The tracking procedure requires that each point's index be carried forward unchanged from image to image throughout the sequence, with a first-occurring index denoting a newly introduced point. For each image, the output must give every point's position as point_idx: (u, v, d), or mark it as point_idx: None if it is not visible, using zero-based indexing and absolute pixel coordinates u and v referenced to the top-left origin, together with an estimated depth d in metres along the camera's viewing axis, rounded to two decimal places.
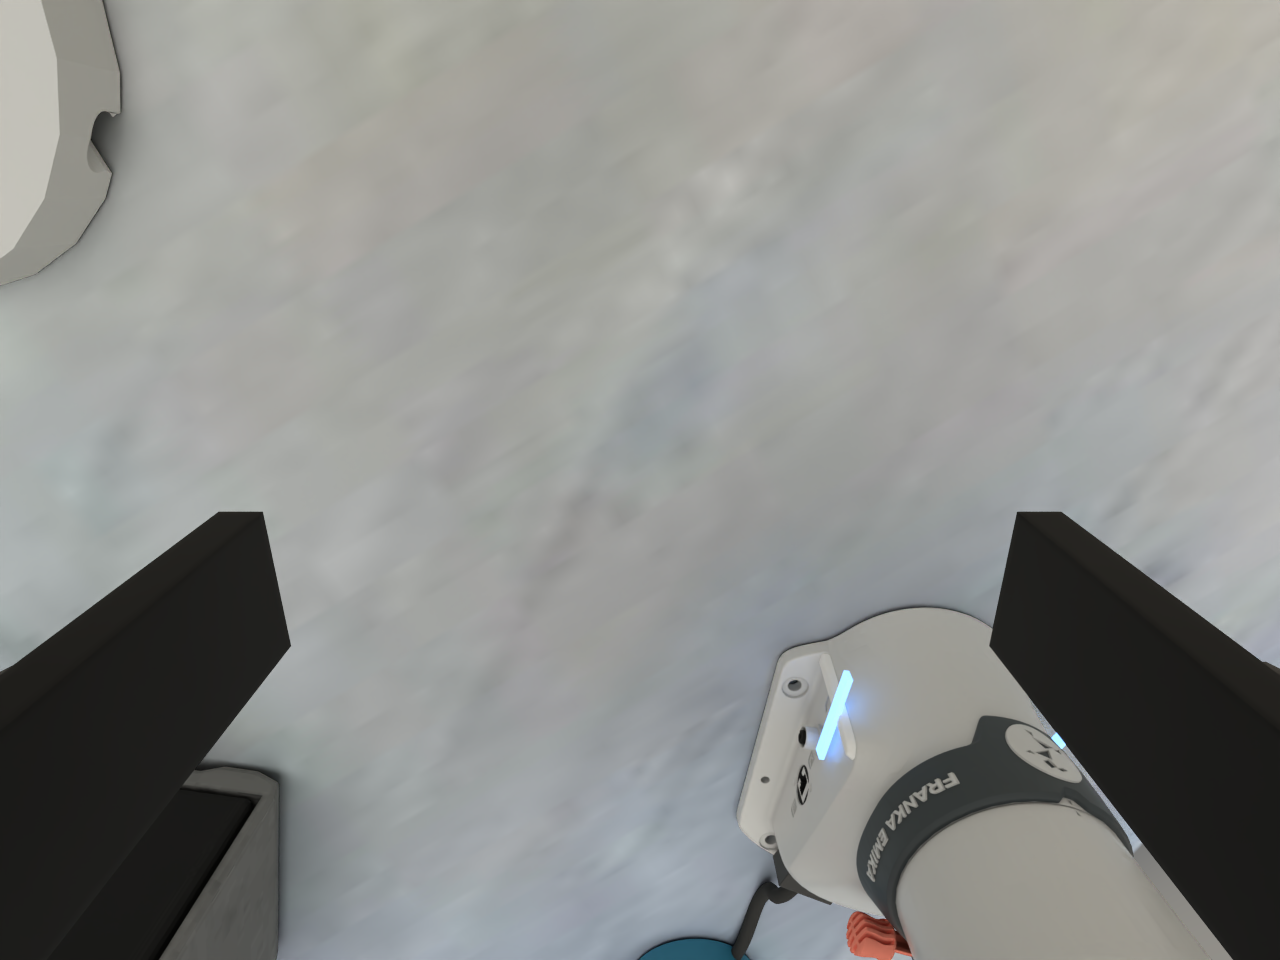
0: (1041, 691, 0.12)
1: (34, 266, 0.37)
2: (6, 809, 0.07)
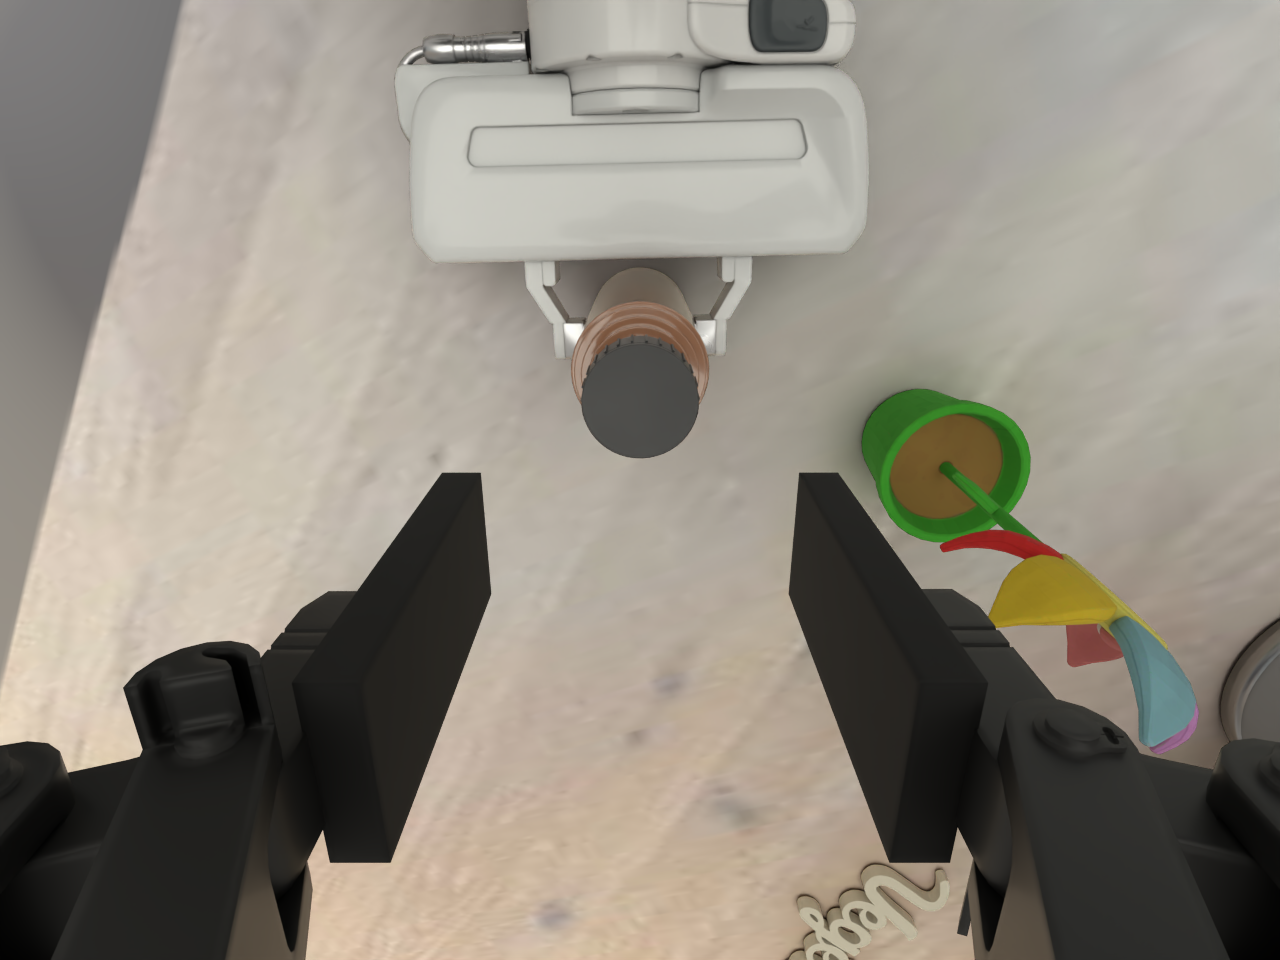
0: (807, 627, 0.13)
1: None
2: (393, 691, 0.09)
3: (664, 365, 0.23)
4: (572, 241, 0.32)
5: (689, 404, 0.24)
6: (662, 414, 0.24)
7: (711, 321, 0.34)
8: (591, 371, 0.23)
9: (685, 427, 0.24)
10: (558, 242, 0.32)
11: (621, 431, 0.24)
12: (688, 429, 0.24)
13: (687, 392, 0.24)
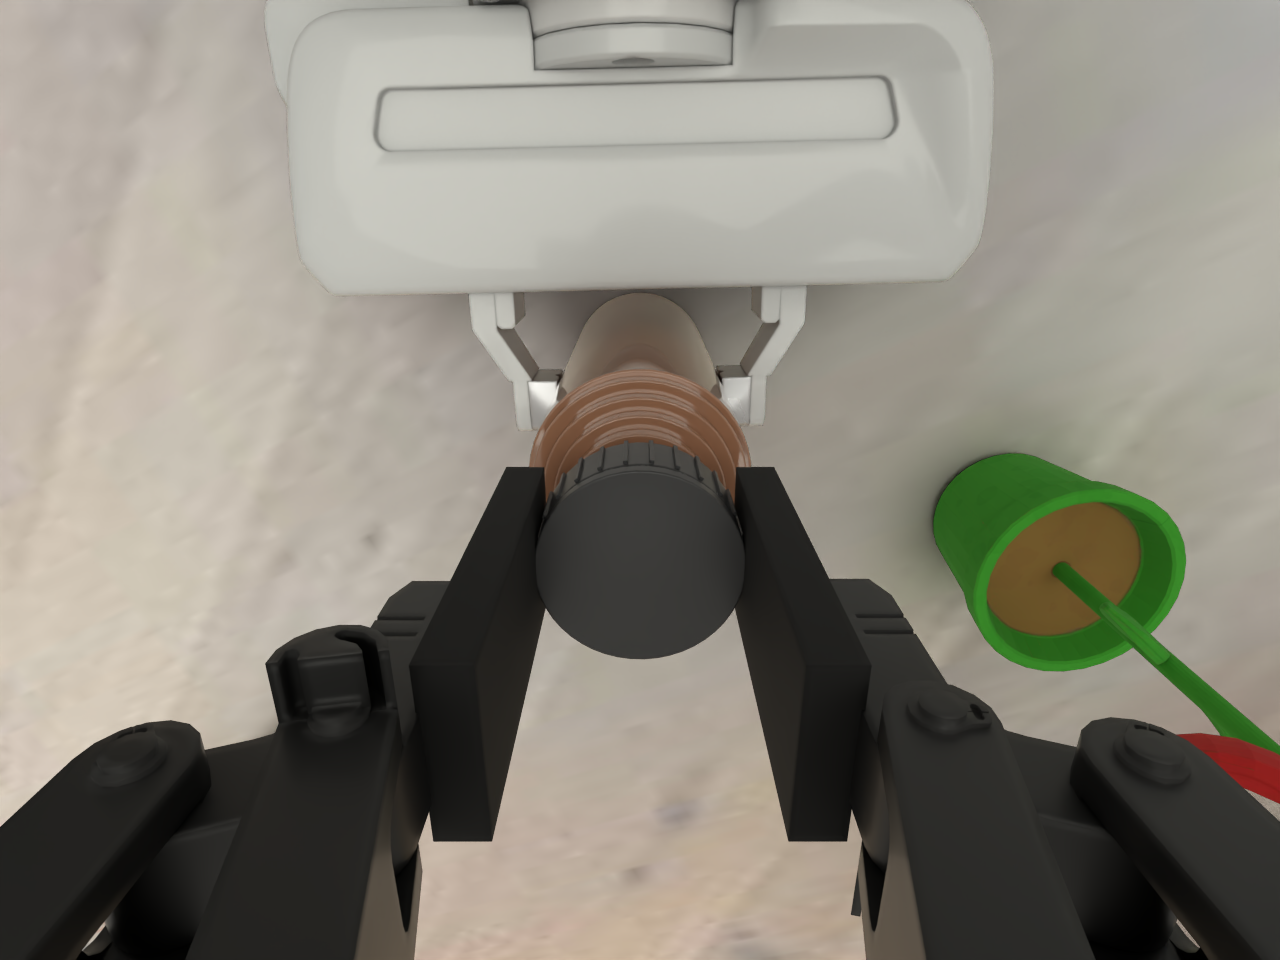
0: (741, 617, 0.14)
1: None
2: (493, 676, 0.09)
3: (685, 507, 0.13)
4: (538, 264, 0.21)
5: (729, 572, 0.13)
6: (680, 588, 0.13)
7: (744, 378, 0.23)
8: (551, 517, 0.13)
9: (721, 610, 0.13)
10: (517, 265, 0.21)
11: (607, 616, 0.13)
12: (726, 613, 0.14)
13: (726, 552, 0.13)
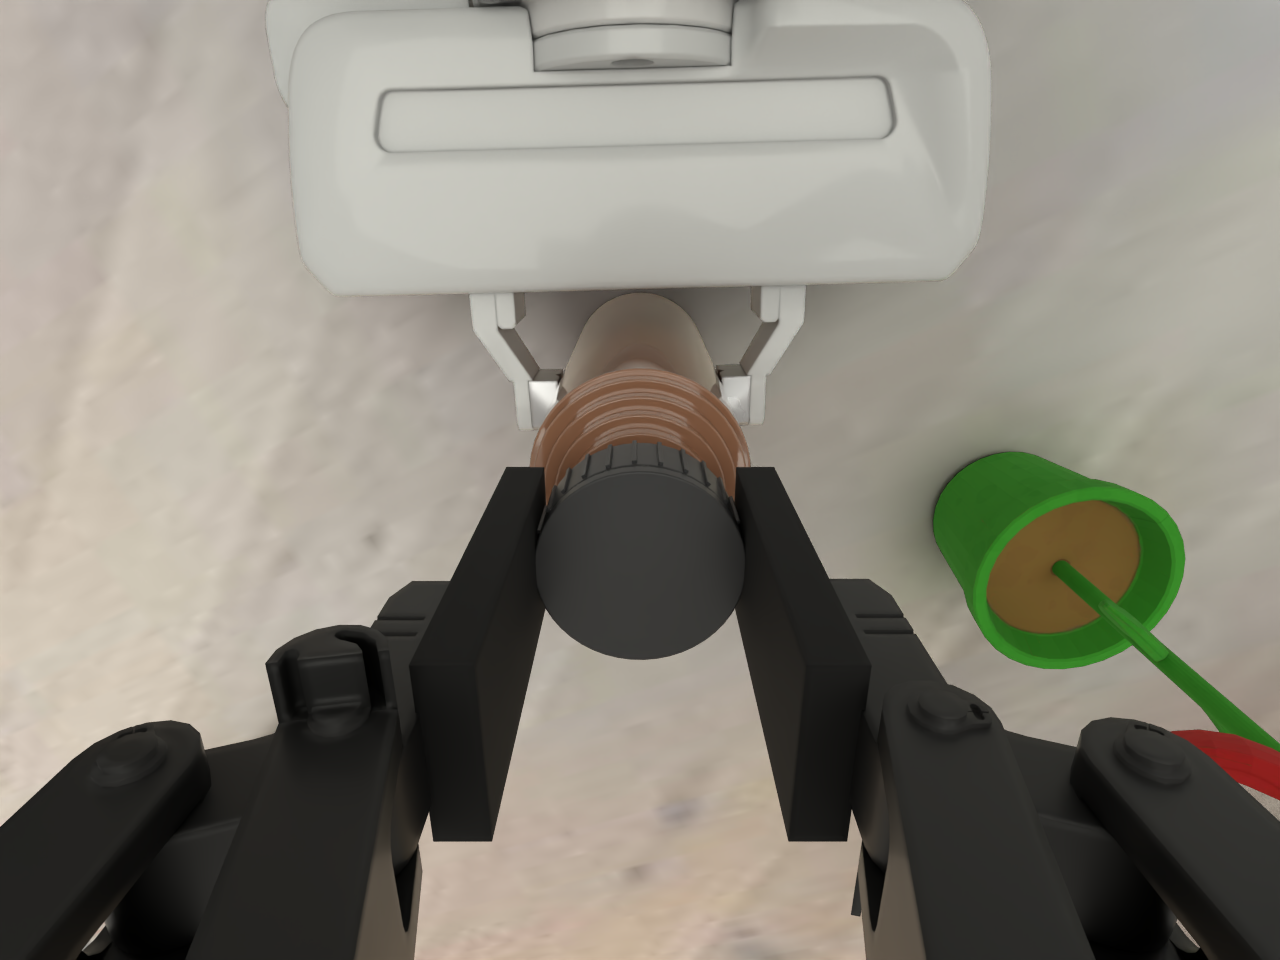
0: (741, 617, 0.14)
1: None
2: (493, 676, 0.09)
3: (558, 568, 0.13)
4: (538, 264, 0.21)
5: (595, 498, 0.13)
6: (638, 529, 0.13)
7: (744, 378, 0.23)
8: (633, 658, 0.14)
9: (637, 483, 0.12)
10: (517, 266, 0.21)
11: (703, 574, 0.13)
12: (638, 475, 0.12)
13: (577, 513, 0.13)
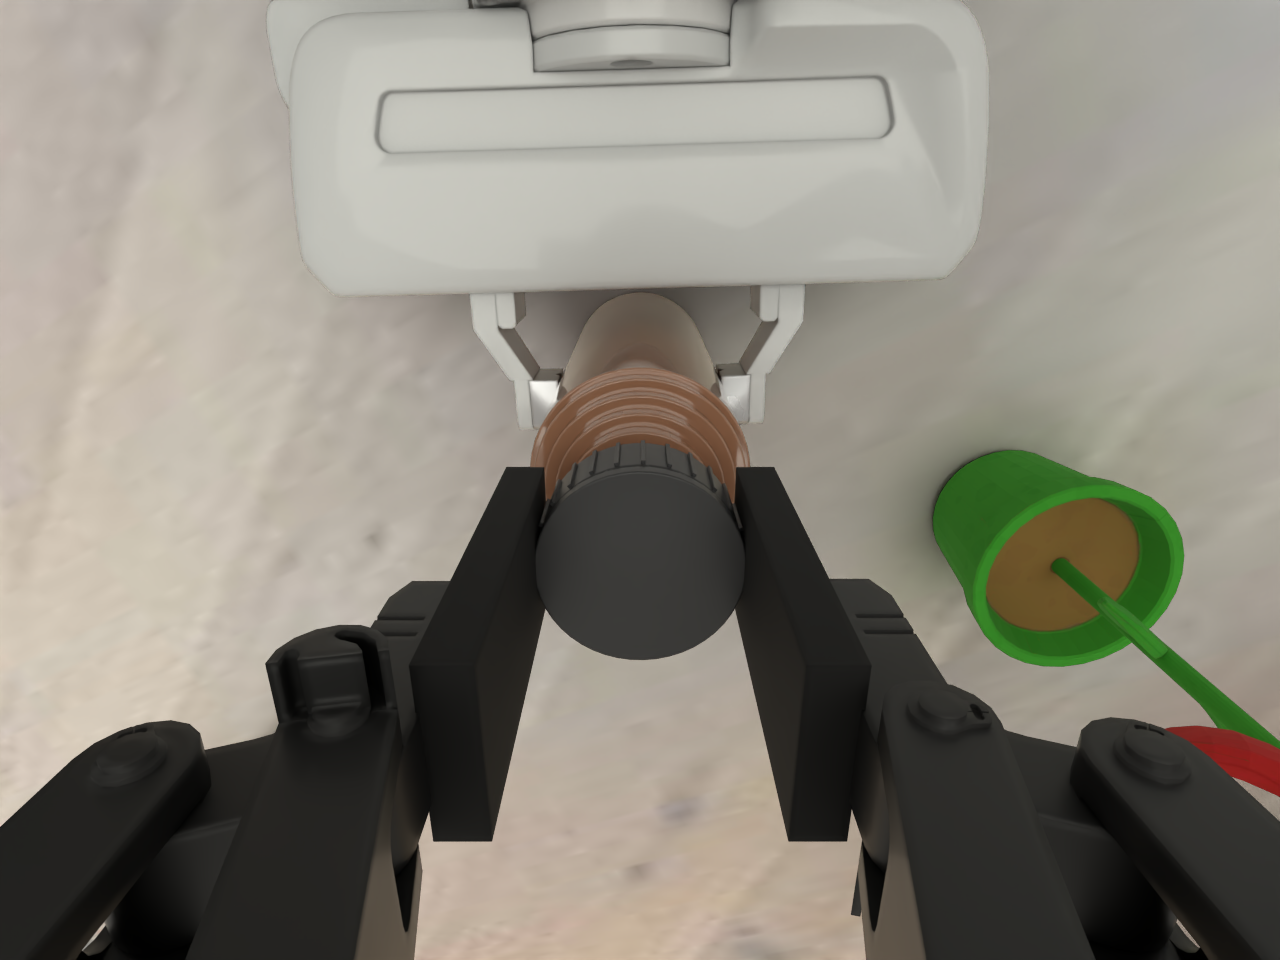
0: (741, 618, 0.14)
1: None
2: (493, 676, 0.09)
3: (677, 632, 0.14)
4: (538, 264, 0.21)
5: (595, 636, 0.14)
6: (602, 593, 0.13)
7: (743, 377, 0.23)
8: (736, 530, 0.13)
9: (561, 614, 0.13)
10: (517, 266, 0.21)
11: (610, 520, 0.13)
12: (554, 615, 0.14)
13: (616, 643, 0.14)
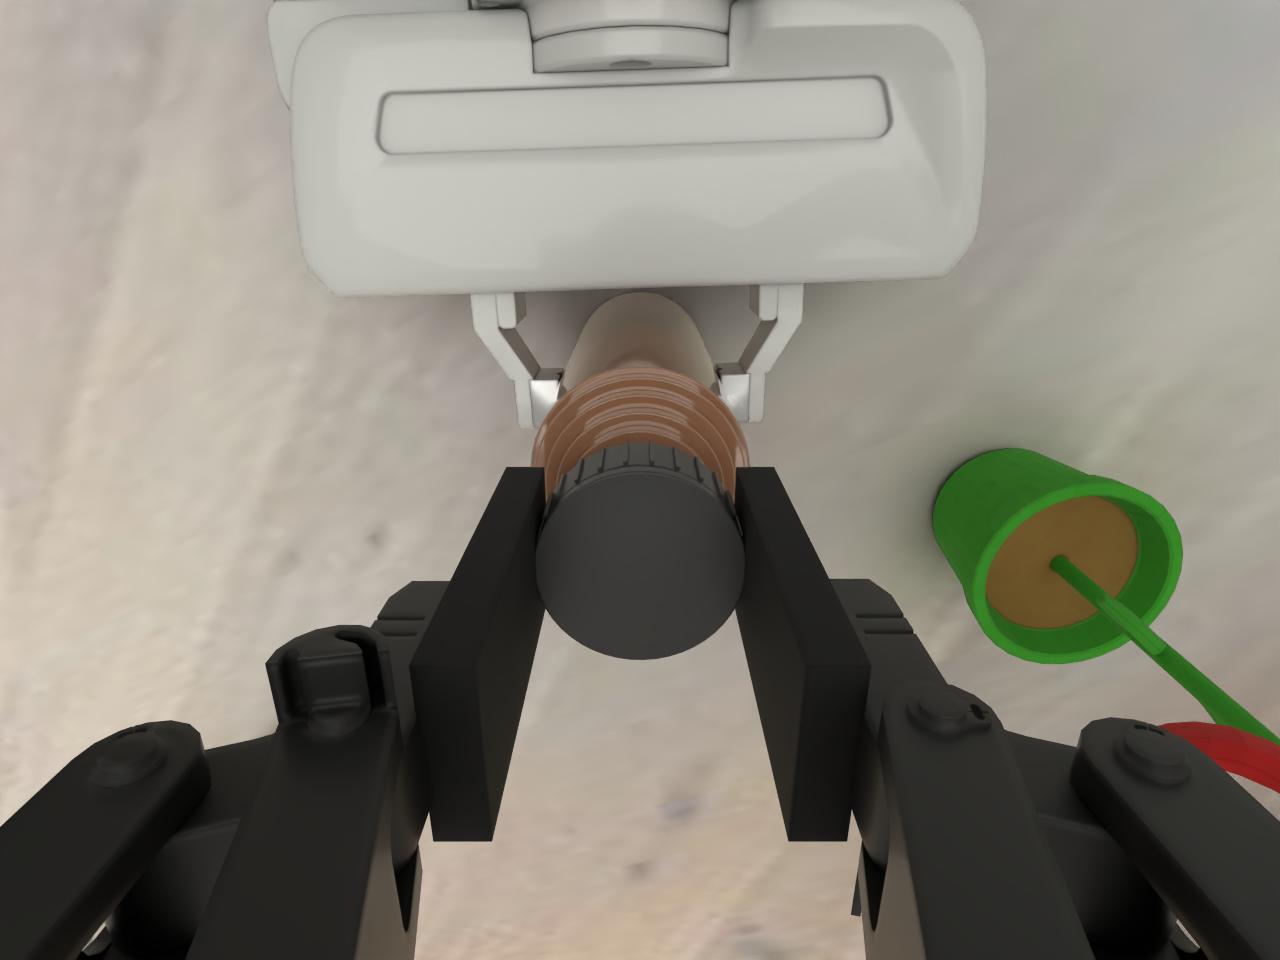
0: (741, 617, 0.14)
1: None
2: (493, 676, 0.09)
3: (685, 507, 0.13)
4: (538, 264, 0.21)
5: (729, 573, 0.13)
6: (680, 589, 0.13)
7: (743, 376, 0.23)
8: (550, 518, 0.13)
9: (721, 611, 0.13)
10: (517, 266, 0.21)
11: (606, 617, 0.13)
12: (726, 614, 0.13)
13: (726, 553, 0.13)
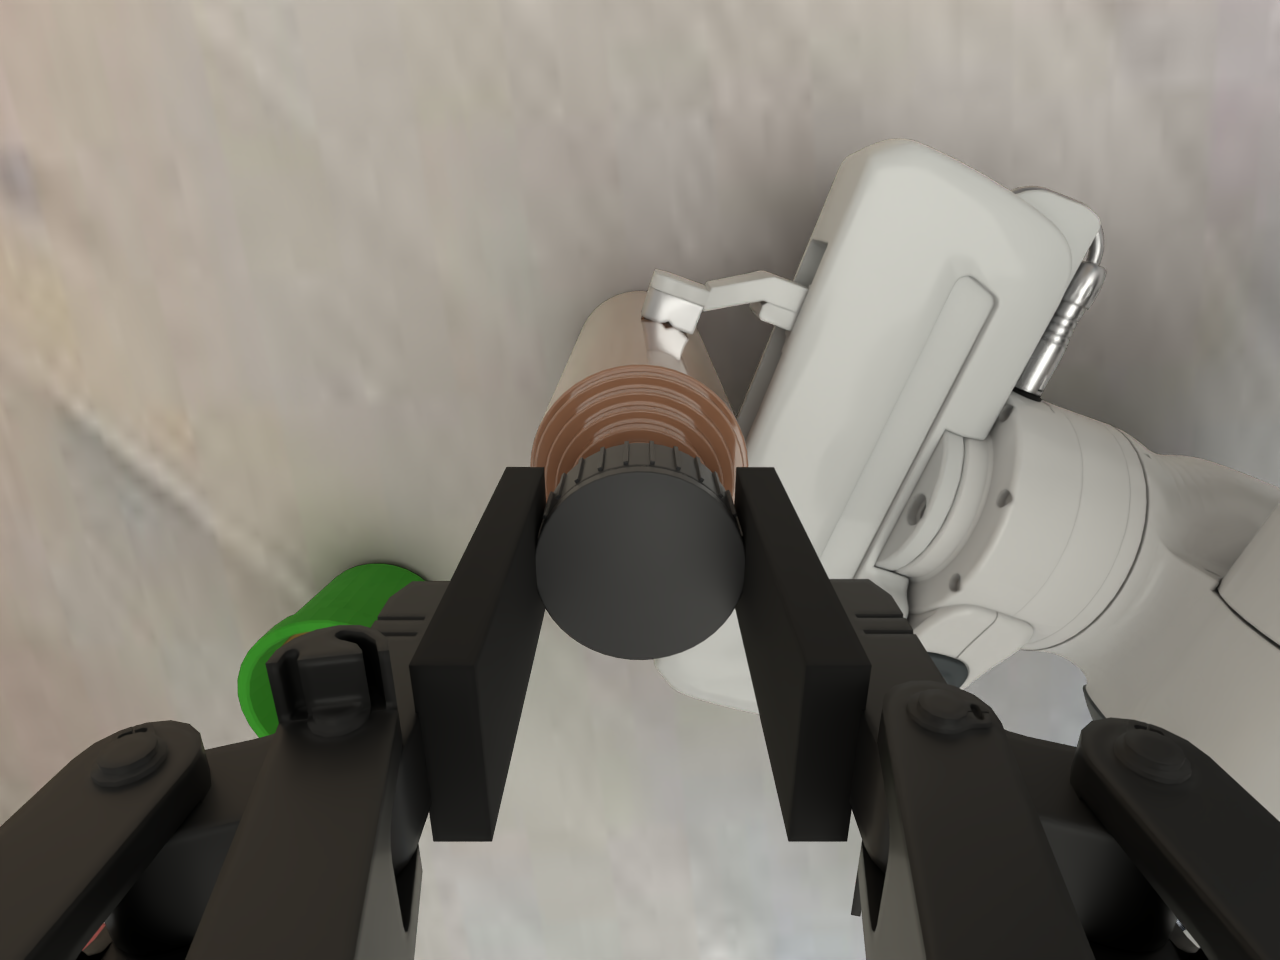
0: (741, 617, 0.14)
1: None
2: (493, 675, 0.09)
3: (685, 508, 0.13)
4: (808, 372, 0.23)
5: (729, 573, 0.13)
6: (680, 589, 0.13)
7: None
8: (551, 517, 0.13)
9: (721, 611, 0.13)
10: (814, 353, 0.22)
11: (606, 617, 0.13)
12: (726, 614, 0.14)
13: (726, 553, 0.13)
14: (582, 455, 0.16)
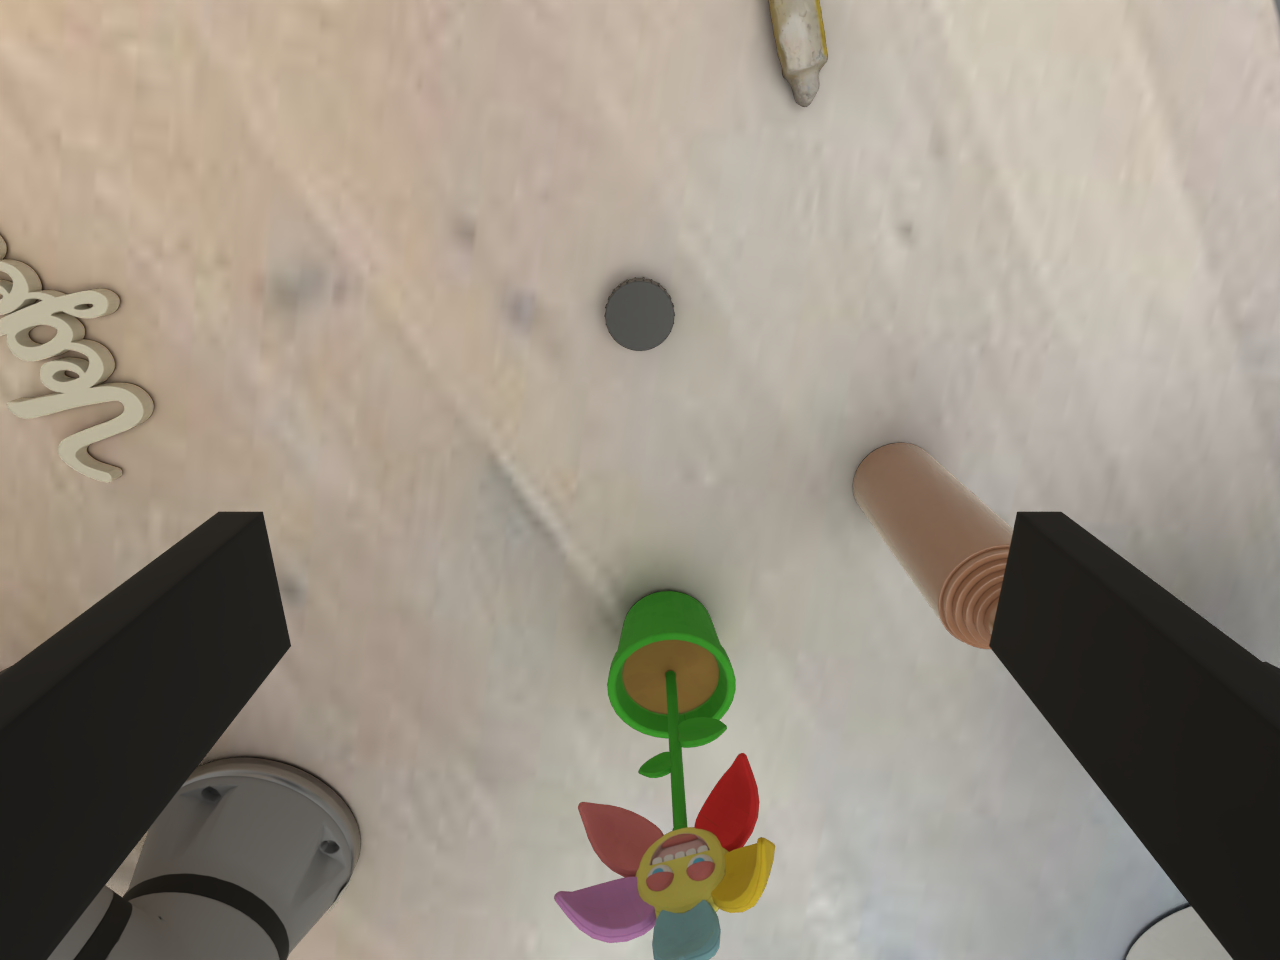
0: (1041, 691, 0.12)
1: None
2: (6, 809, 0.07)
3: (653, 293, 0.40)
4: None
5: (668, 317, 0.41)
6: (652, 323, 0.41)
7: None
8: (611, 297, 0.40)
9: (666, 331, 0.41)
10: None
11: (628, 333, 0.41)
12: (668, 332, 0.41)
13: (667, 310, 0.41)
14: (995, 592, 0.31)
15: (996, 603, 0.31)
